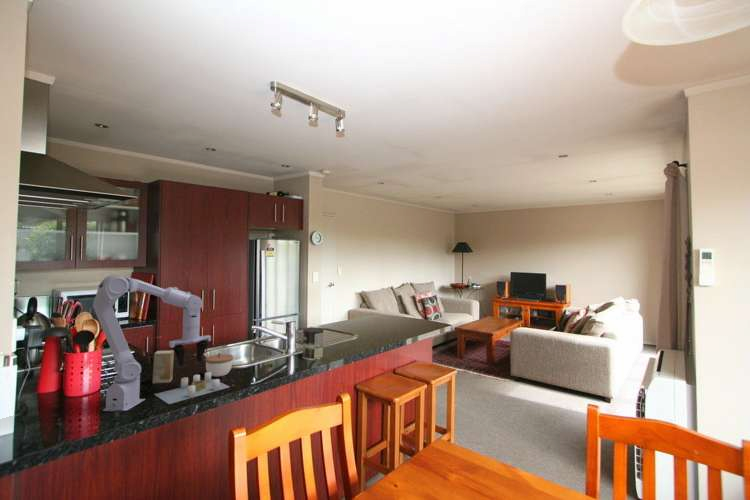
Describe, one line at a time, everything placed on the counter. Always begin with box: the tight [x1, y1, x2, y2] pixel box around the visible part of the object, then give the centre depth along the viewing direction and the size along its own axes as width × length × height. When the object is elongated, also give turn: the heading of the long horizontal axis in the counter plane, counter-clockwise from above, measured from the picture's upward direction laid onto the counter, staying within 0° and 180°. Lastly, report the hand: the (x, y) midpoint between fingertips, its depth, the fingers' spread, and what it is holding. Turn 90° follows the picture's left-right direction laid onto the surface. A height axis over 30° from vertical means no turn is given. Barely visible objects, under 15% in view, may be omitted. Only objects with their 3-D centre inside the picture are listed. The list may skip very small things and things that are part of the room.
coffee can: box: [302, 327, 324, 361], centre depth 185 cm, size 10×10×14 cm
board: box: [154, 371, 230, 405], centre depth 136 cm, size 22×13×4 cm, turn 141°
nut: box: [191, 379, 206, 391], centre depth 137 cm, size 4×5×2 cm
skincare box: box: [152, 349, 175, 384], centre depth 145 cm, size 6×4×12 cm
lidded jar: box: [205, 352, 234, 378], centre depth 155 cm, size 11×11×9 cm
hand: (190, 363), depth 137 cm, fingers open, 6 cm apart
